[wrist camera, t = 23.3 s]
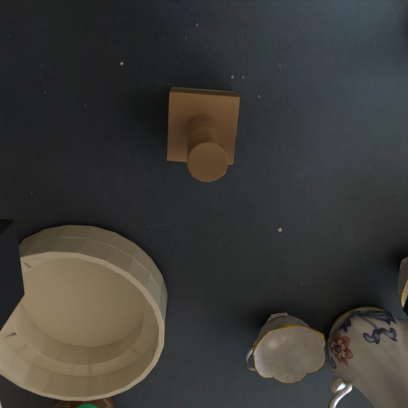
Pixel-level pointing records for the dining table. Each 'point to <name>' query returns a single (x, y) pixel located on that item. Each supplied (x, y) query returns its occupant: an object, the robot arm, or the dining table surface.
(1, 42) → the dining table surface
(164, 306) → the bowl
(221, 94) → the brown wooden stamp
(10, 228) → the robot arm
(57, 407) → the food container
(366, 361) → the chinaware
